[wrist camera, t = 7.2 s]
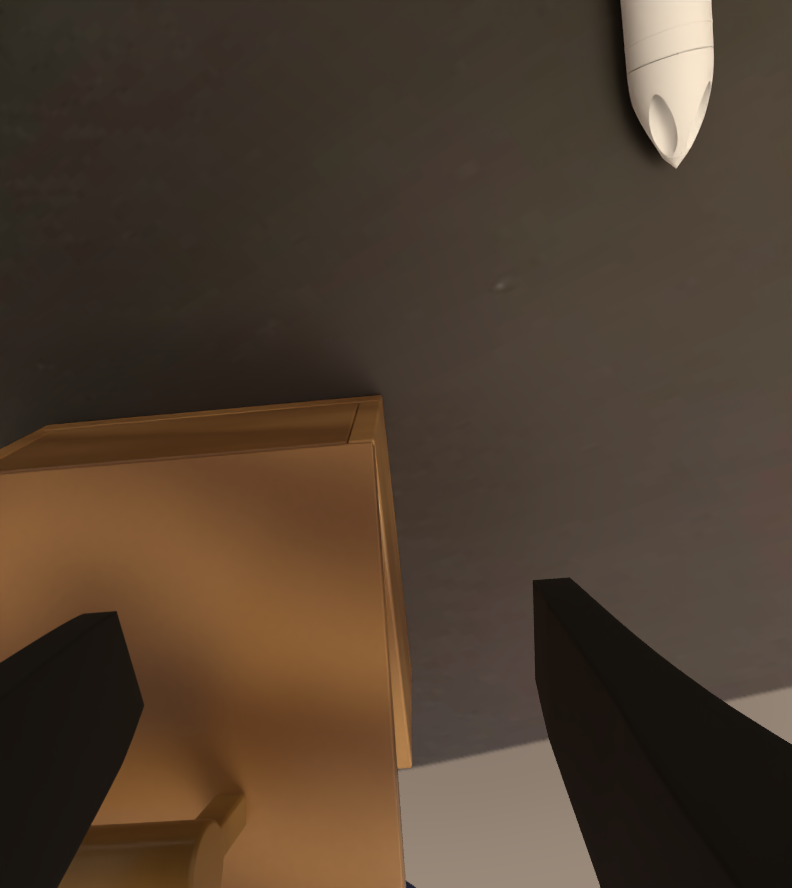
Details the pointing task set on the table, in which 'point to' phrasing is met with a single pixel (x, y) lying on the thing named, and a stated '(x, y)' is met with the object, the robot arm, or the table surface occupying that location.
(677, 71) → the marker
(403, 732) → the keepsake box
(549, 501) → the table surface
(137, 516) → the brown piece
